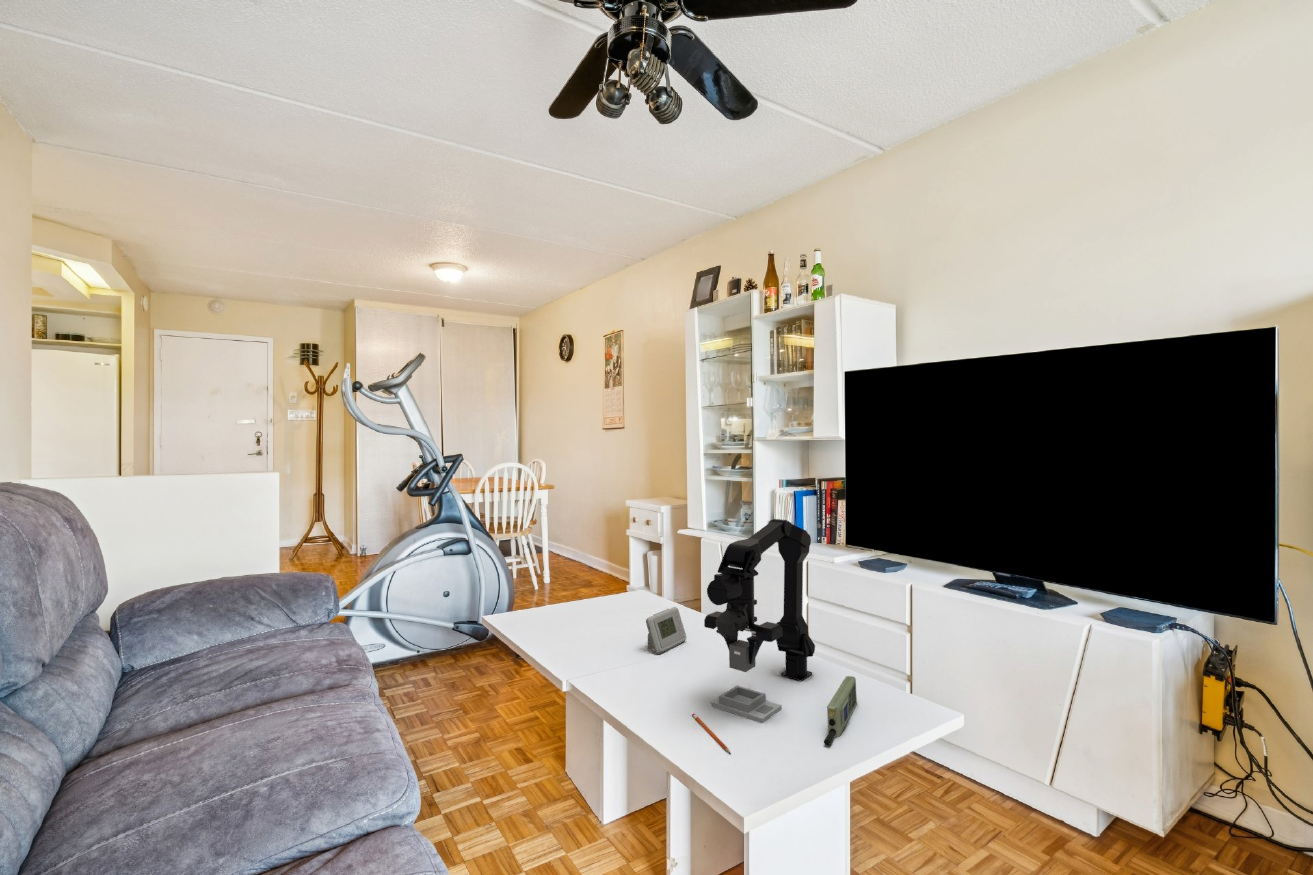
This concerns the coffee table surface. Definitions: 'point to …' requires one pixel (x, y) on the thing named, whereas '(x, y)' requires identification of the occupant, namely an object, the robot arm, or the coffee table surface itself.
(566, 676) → the coffee table surface
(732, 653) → the block
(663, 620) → the digital clock
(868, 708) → the coffee table surface
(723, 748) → the pencil
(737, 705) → the grey charging dock
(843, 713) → the handheld radio
